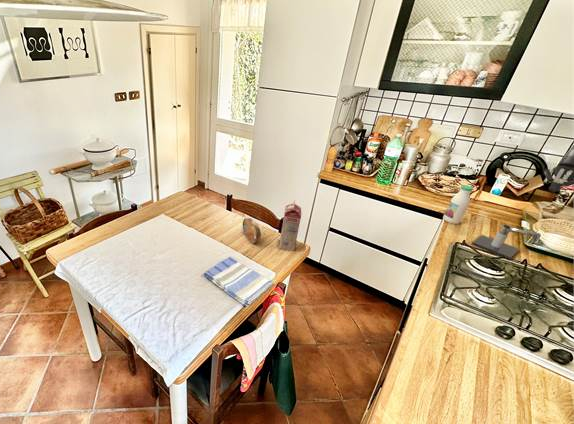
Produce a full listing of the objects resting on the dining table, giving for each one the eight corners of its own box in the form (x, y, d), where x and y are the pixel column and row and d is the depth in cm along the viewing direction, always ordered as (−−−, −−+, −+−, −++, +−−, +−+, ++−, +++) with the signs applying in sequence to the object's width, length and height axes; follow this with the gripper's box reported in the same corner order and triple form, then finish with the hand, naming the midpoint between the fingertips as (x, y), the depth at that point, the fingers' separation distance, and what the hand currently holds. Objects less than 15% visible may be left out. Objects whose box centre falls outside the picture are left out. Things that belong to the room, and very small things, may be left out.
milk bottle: (457, 218, 166) (474, 185, 156) (461, 225, 160) (479, 190, 150) (441, 215, 169) (456, 182, 159) (444, 222, 162) (460, 188, 153)
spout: (499, 234, 138) (504, 226, 136) (496, 231, 141) (501, 223, 138) (538, 242, 133) (544, 234, 131) (535, 239, 135) (541, 230, 133)
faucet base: (518, 251, 140) (527, 236, 136) (509, 259, 134) (519, 244, 130) (481, 236, 150) (488, 222, 146) (471, 244, 144) (479, 230, 141)
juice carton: (279, 248, 140) (286, 205, 129) (279, 240, 145) (286, 199, 135) (294, 250, 138) (302, 207, 127) (294, 242, 144) (302, 201, 133)
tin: (241, 229, 153) (242, 215, 149) (247, 229, 154) (248, 214, 150) (254, 246, 140) (256, 231, 136) (260, 245, 141) (262, 230, 137)
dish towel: (247, 309, 107) (248, 304, 105) (201, 276, 122) (201, 271, 121) (276, 286, 117) (277, 281, 116) (230, 258, 132) (231, 253, 131)
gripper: (556, 151, 139) (533, 181, 139) (599, 159, 129) (575, 192, 129) (552, 160, 144) (530, 189, 144) (594, 169, 135) (571, 200, 135)
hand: (552, 190), depth 137 cm, fingers closed
